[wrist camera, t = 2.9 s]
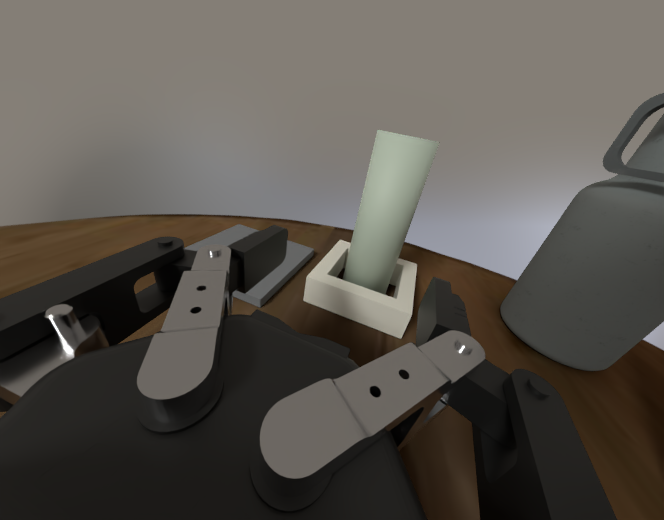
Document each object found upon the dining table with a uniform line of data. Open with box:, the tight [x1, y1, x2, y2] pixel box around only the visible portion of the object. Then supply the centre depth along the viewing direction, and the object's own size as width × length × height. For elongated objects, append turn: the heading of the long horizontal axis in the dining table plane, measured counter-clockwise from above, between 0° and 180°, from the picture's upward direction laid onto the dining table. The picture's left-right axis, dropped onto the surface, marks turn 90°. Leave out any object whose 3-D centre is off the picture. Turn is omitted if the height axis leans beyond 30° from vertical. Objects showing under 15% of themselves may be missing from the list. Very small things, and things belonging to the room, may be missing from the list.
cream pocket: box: [303, 240, 417, 339], centre depth 26 cm, size 10×10×3 cm
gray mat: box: [184, 224, 314, 307], centre depth 28 cm, size 12×12×1 cm
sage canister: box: [343, 130, 440, 295], centre depth 23 cm, size 5×5×16 cm
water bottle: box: [500, 93, 664, 371], centre depth 19 cm, size 10×10×28 cm
